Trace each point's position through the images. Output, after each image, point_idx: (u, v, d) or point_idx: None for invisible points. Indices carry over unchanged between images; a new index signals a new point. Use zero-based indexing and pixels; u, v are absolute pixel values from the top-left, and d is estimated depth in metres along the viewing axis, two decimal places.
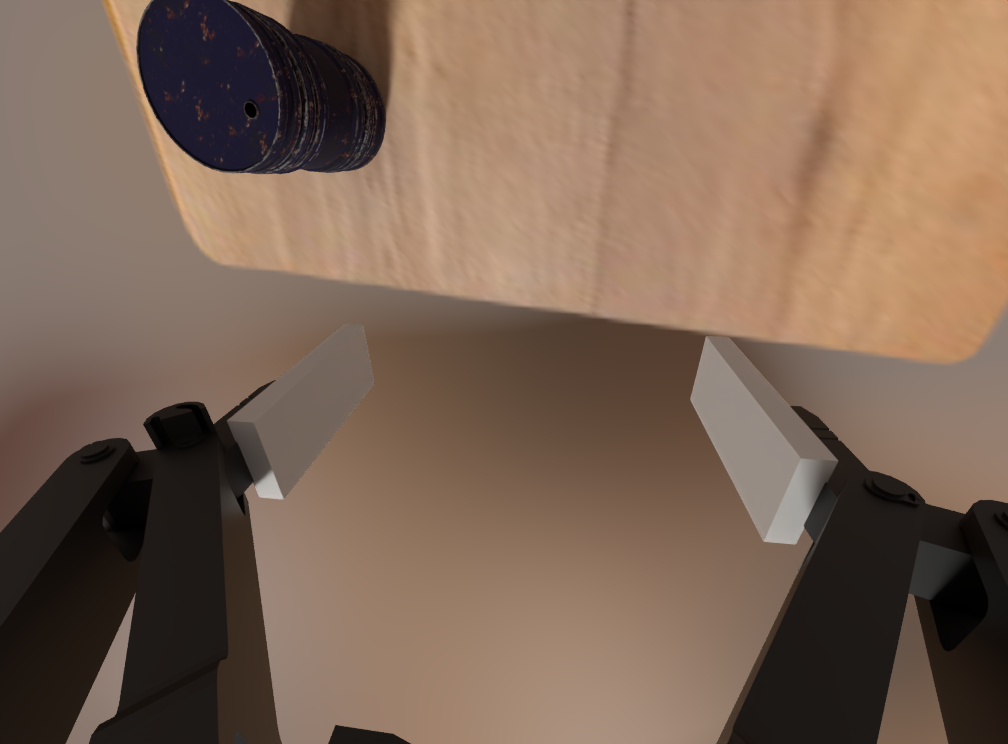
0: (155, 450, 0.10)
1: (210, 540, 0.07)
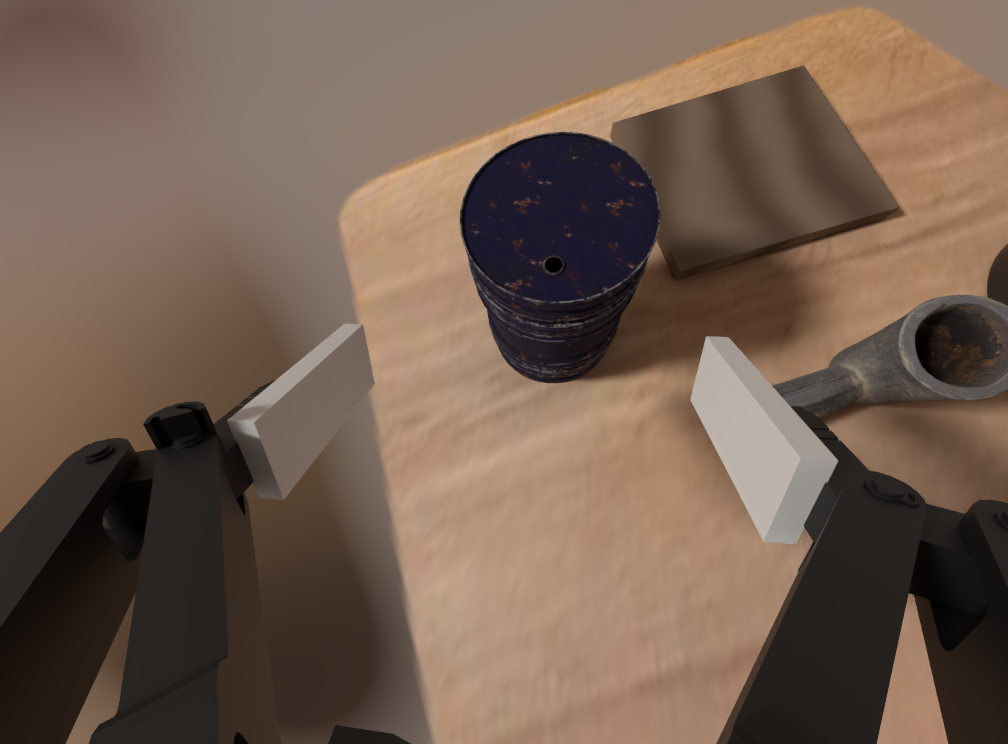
0: (155, 450, 0.10)
1: (210, 539, 0.07)
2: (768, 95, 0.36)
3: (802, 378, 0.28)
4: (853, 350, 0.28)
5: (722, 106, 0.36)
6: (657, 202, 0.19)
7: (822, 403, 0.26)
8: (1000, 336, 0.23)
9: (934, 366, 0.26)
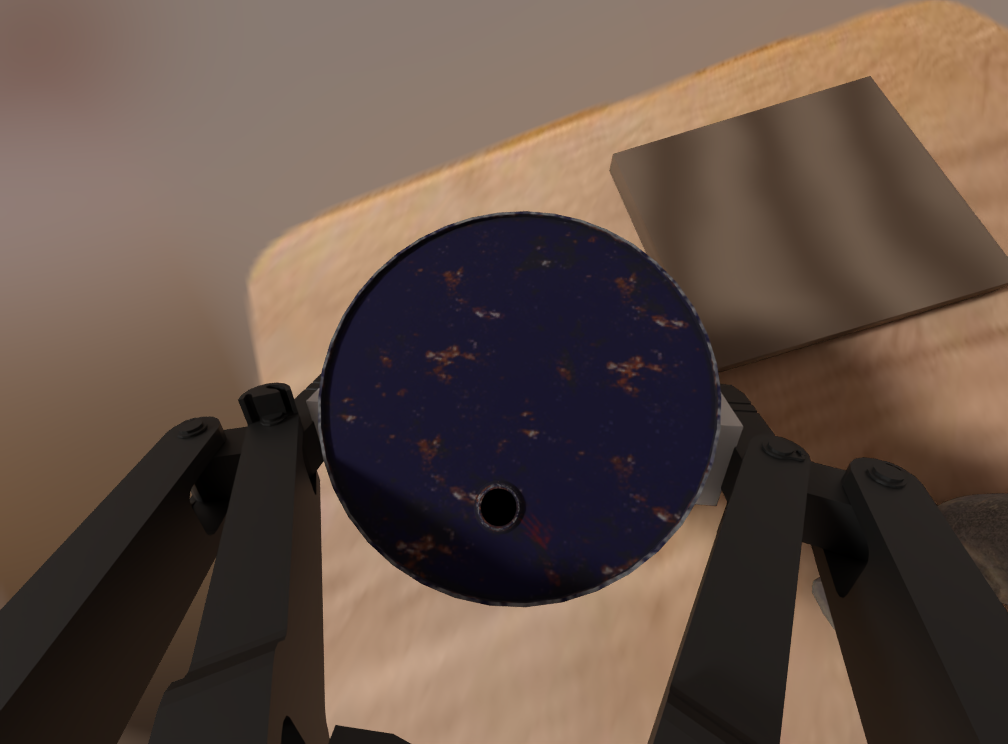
0: (239, 428, 0.11)
1: (282, 518, 0.08)
2: (823, 117, 0.27)
3: None
4: (977, 524, 0.18)
5: (762, 131, 0.27)
6: (712, 367, 0.09)
7: None
8: None
9: None
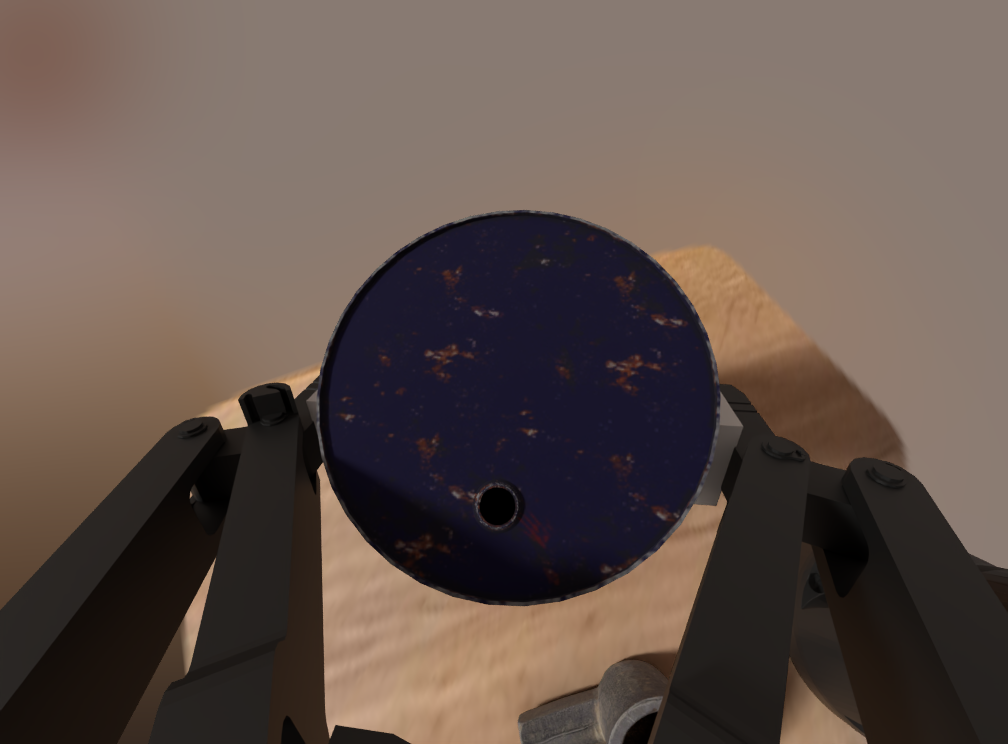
0: (239, 428, 0.11)
1: (282, 518, 0.08)
2: None
3: (556, 716, 0.28)
4: (606, 692, 0.28)
5: None
6: (711, 365, 0.09)
7: None
8: None
9: None
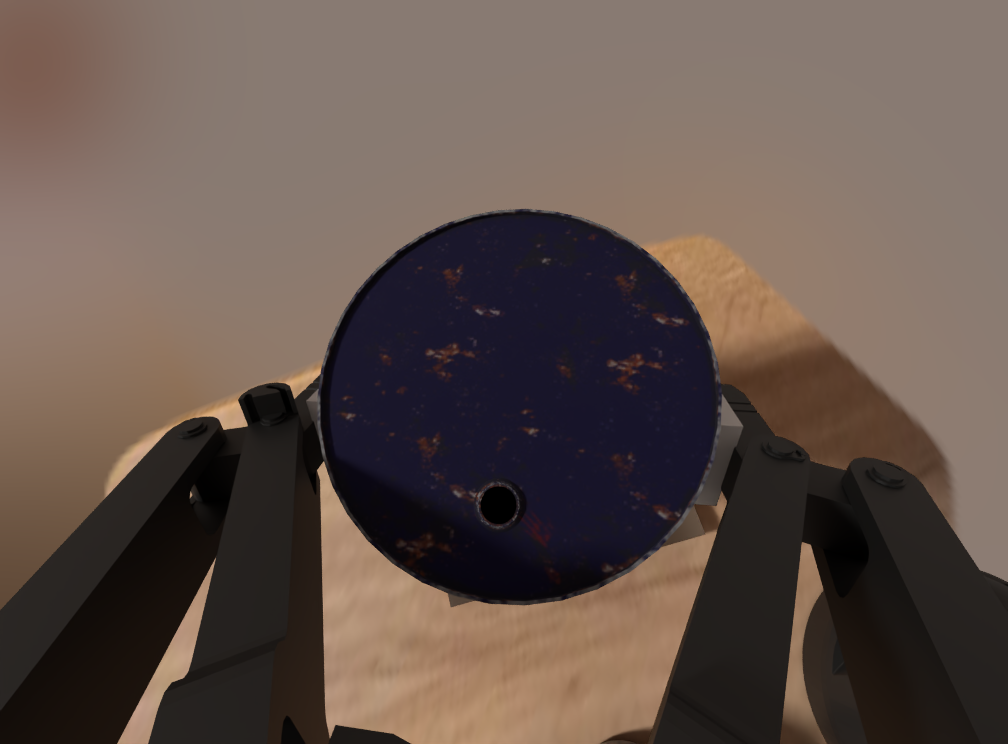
0: (239, 428, 0.11)
1: (282, 517, 0.08)
2: None
3: None
4: None
5: None
6: (713, 364, 0.09)
7: None
8: None
9: None
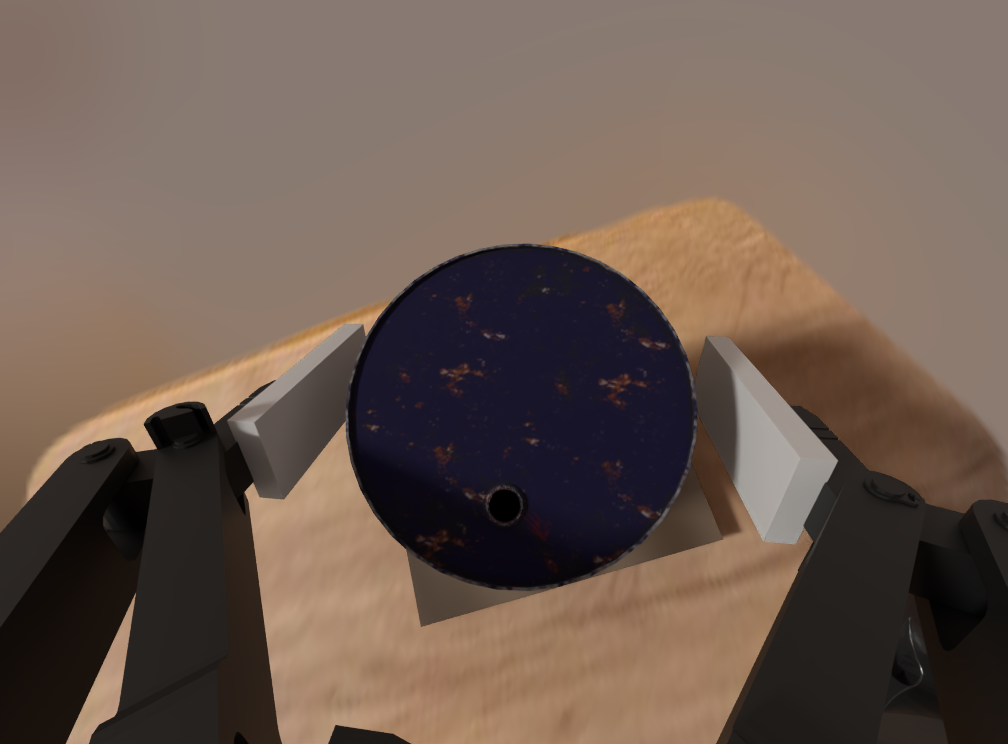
0: (155, 450, 0.10)
1: (210, 540, 0.07)
2: None
3: None
4: None
5: None
6: (690, 383, 0.11)
7: None
8: None
9: None
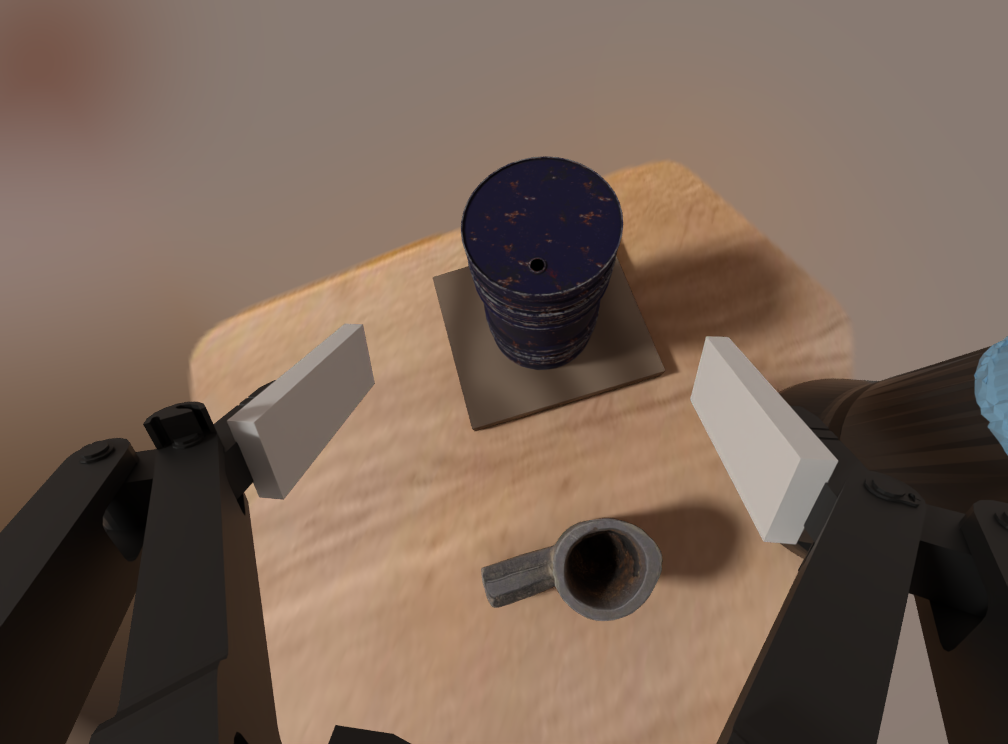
0: (155, 450, 0.10)
1: (209, 540, 0.07)
2: None
3: (515, 561, 0.31)
4: (560, 538, 0.31)
5: None
6: (620, 214, 0.24)
7: (519, 590, 0.30)
8: (640, 559, 0.27)
9: (617, 563, 0.30)
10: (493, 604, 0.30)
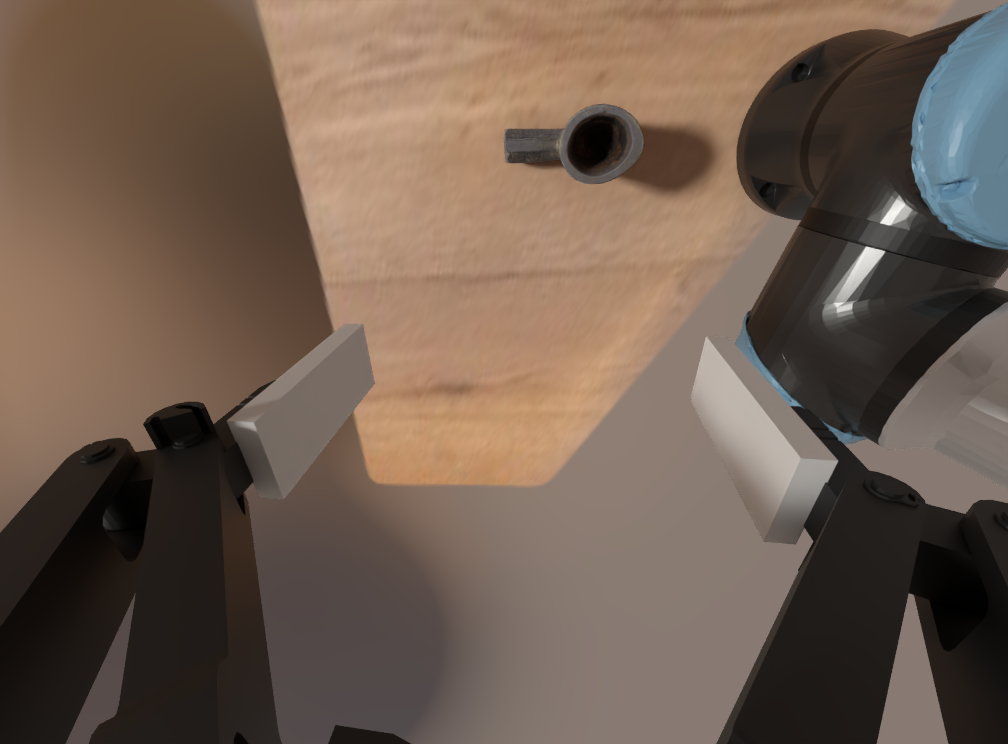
0: (155, 450, 0.10)
1: (210, 540, 0.07)
2: None
3: (533, 130, 0.39)
4: None
5: None
6: None
7: (530, 153, 0.39)
8: (627, 148, 0.35)
9: (608, 153, 0.38)
10: (507, 158, 0.40)
